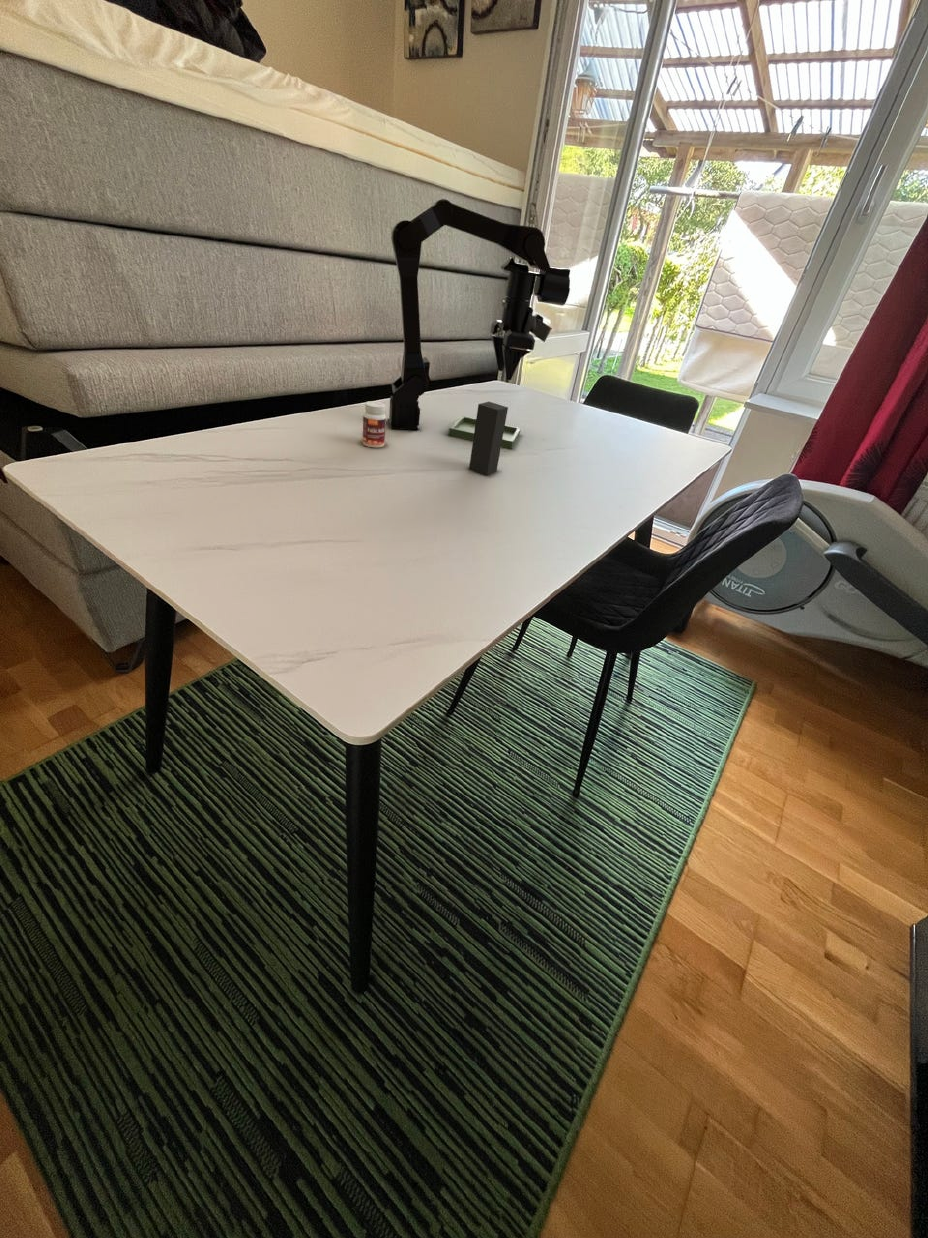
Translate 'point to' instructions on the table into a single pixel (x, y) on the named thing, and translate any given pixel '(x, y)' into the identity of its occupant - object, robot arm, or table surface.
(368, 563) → the table surface
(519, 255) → the robot arm
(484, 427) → the tall black pillar
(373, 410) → the pill bottle
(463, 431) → the shallow green tray
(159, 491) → the table surface
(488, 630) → the table surface
